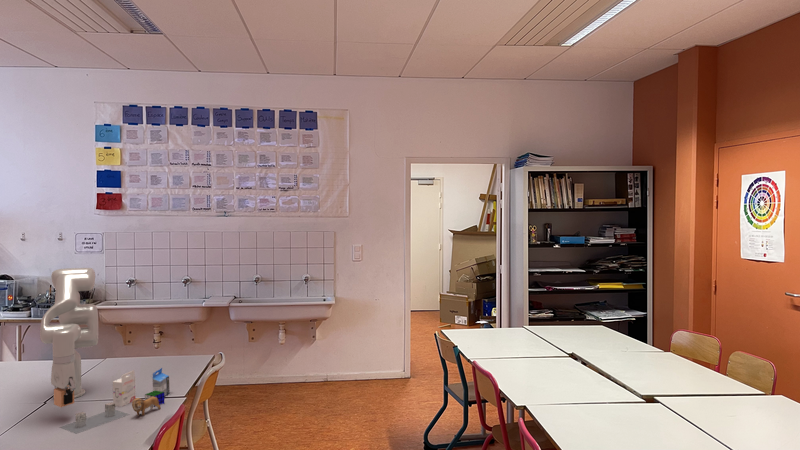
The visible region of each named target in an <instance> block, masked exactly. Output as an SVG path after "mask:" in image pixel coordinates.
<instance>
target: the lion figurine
mask: <svg viewBox="0 0 800 450" xmlns="http://www.w3.org/2000/svg"><path fill="white" fill-rule="evenodd" d="M153 405H154V406H155V407H156V408H158V410H161V404H160V405H159V400H158V398H157V397H150V398H149V399H147V400H145V399H143V398H140V397H135V399H134V400H133V401H132V402H131V407H132V410H133V411H134V412H135V413H136V415H137V416H140V412H141V416H144V417H145V412H146V410H147V409H148V408H149V407H150V409H149V411H152V410H153V409H154V407H153Z"/></svg>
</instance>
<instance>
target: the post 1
mask: <svg viewBox="0 0 800 450" xmlns="http://www.w3.org/2000/svg"><path fill="white" fill-rule="evenodd" d="M86 415H87V413H86V412H85V411H80V412H77V413H75V421H74V422H75V426H76V427H78V428H80V427H83V426H86V418H87V416H86Z"/></svg>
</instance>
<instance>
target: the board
mask: <svg viewBox="0 0 800 450" xmlns="http://www.w3.org/2000/svg"><path fill="white" fill-rule="evenodd" d="M130 415H131V414H130V413H127V412H123V411H120V410H117V409H115V415H114V416H111V417H106V416H105V411H103V412H101V413H97V414H95V415H91V416H89V417H86V426H83V427H80V428H78V427H76V426H75V421H73V422H70V423H68V424H66V425H65V424H64V425H62V426H59V427H58V428H60V429H62V430H65V431H68V432H70V433H73V434H79V433H83V432H85V431H88V430H91V429H94V428H97V427H99V426H103V425H104V424H107V423H110V422H113V421H116V420H118V419H119V420H120V419H122V418H125V417H126V416H130Z"/></svg>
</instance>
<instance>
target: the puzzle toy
mask: <svg viewBox="0 0 800 450" xmlns="http://www.w3.org/2000/svg"><path fill="white" fill-rule="evenodd" d="M150 397H157V398H158V400H159V405H160V406H161V405H165V396H164V392H161V391H156V390H155V391H153V390H152V391H150V392H148V393H145V394H144V400H147V399H149V398H150ZM155 407H156V406H154V405H153V408H155Z"/></svg>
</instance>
